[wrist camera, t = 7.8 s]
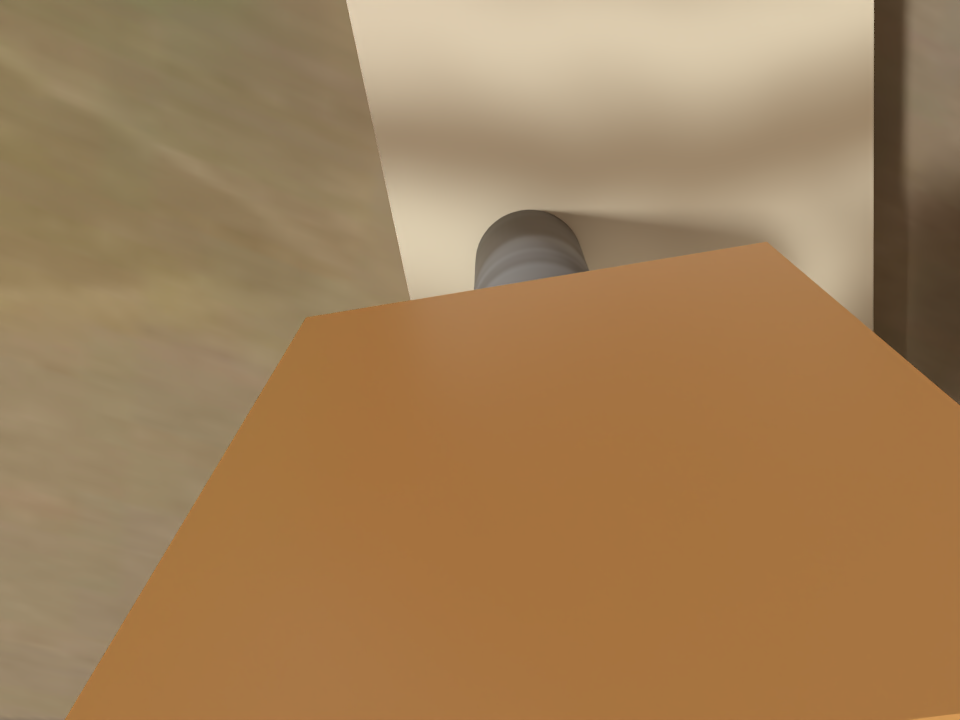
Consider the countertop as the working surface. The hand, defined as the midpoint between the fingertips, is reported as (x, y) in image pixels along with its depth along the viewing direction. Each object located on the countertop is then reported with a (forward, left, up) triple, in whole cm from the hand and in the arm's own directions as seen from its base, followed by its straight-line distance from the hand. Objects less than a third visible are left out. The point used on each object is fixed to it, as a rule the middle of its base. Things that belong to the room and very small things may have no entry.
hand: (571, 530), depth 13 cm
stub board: (-3, +3, -14) cm, 15 cm away
